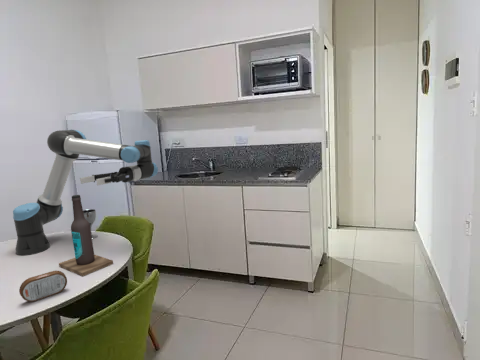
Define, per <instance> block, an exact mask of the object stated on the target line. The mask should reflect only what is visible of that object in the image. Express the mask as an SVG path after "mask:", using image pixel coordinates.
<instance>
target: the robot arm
mask: <svg viewBox="0 0 480 360" xmlns="http://www.w3.org/2000/svg"><path fill="white" fill-rule="evenodd" d="M46 143H47V147H48V149H49V150H50V151H51V152H53V154H55V155H56V156H55V157H54V162H53V164H52V167H51V170H50V173H49V175H48V177H47V181H46V184H45V187H44V189H43V192H42V194H40V195H39V196H38V198H37V200H36V202H28V203H24V204H20V205H18V206H16V207H14V209H13V211H12V218H13V222H14V227H15V232H16V236H17V237H16V238H17V239H16V243H15V244H16V245H15V250H14V251H15V254H16V255H17V256H28V255H34V254H38V253H41V252H44V251H46V250H49V248H50V247H51V244H50V241H49V238H47V236H46V234H45V231H44V225H47V224H48V223H51V222H53V221H55V220H57V219H58V218H60V217H61V215H62V214H63V211H64V210H63V209H64V207H63V204H62V203H63V200H62V199H61V197H62V194H63V192H64V189H65V187H66V183H67V181H68V177H69V176H70V172H71V169H72V166H73V164H74V162H75V160H78V159H79V157H80V155H82V156H83V155H84V156H89V157H95V158H105V159H110V160H117V161H122V162H123V161H124V162H125V163H126V164H133V163H136V165H134V164H133V165H129V166H123V167H120V168H119V170H118V171H113V172H108V173H107V172H106V173H100V174H91V175H90V176H89V175H88V176H82V177H79V179H80V184H82V185H83V184H87V183H96V185H97V186H102V185H107V184H112V183H120V182H122V183H123V184H124V183H129V182H133V181H134V182H137V181H138V180H142V179H143V180H145V179H150V178H152V177H156V176H157V175H158V172H159V169H158V165H157V163H155V162H153V160H152V159H153V158H152V149H151V148H152V147H151V143H150V140H147V139H145V140H144V139H141V140H135V141H134V145H129V144H128V145H127V144H119V143H114V142H106V141H99V140H93V139H87V137H86V135H85V134H84V133H83V132H81V131H80V130H77V129H68V130H67V129H65V130H64V129H63V130H60V129H59V130H55V131H53V132H51V133H50V134H49V135H48V137H47V142H46Z"/></svg>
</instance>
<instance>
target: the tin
mask: <svg viewBox="0 0 480 360" xmlns="http://www.w3.org/2000/svg"><path fill="white" fill-rule="evenodd" d="M67 285H68V278H67V276H66V274H65V273H64V272H63V271H60V270H51V271H48V272H45V273H42V274H37V275H35V276H31V277H28V278H26V279H25V280H24V281H23V282H22V283H21V284H20V286H19V295H20V296H21V298H22V299H23V300H24V301H26V302H36V301H40V300H42V299H45V298H48V297H52V296H53V295H54V296H55V295H58V294H60V293H61V292H63V291H64V290H65V288H66V287H67Z"/></svg>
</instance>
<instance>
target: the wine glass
mask: <svg viewBox="0 0 480 360" xmlns="http://www.w3.org/2000/svg"><path fill="white" fill-rule="evenodd" d="M83 213H84V217H85V219H86V220H87V221H88V222H89V224H90V229H91V230H92V226H93V224H94V223H95V221H96V218H97V212H96V209H94V208H93V209H92V208H90V209H83ZM91 236H92V240H94V239H97V238H98V237H99V235H98V234H92V232H91Z"/></svg>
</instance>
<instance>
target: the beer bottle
mask: <svg viewBox="0 0 480 360" xmlns="http://www.w3.org/2000/svg"><path fill="white" fill-rule="evenodd" d="M81 200H82V198H81V195H80V194H74V195H72V196H71V202H72V213H73V214H72V215H73V221H72V222H71V225H70V231H71V238H72V239H71V240H72V246H73V250H74V251H73V253H74V258H76V263H77V264H78V265H86V264H90V263H92V262H93V261H94V260H95V257H94V254H95V253H94V251H95V249H94V245H93V244H94V243H93V239H92V236H91V233H92V228H91V229H90V224H89V222H88V221H87V220H86V219H85V217H84V213H83V210H84V209H83V205H82V201H81Z"/></svg>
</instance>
